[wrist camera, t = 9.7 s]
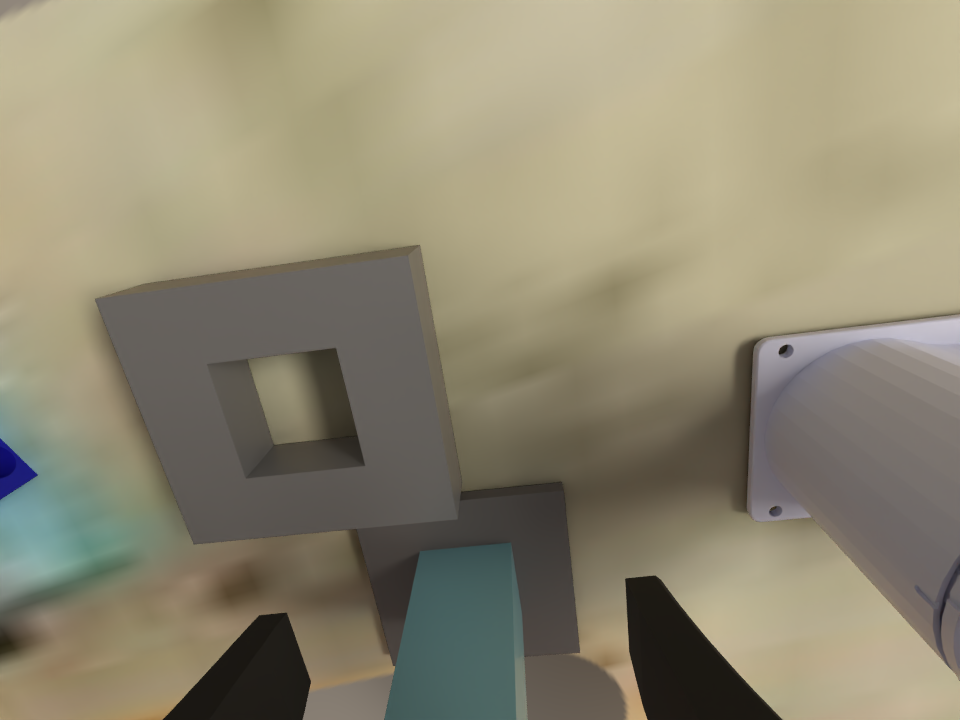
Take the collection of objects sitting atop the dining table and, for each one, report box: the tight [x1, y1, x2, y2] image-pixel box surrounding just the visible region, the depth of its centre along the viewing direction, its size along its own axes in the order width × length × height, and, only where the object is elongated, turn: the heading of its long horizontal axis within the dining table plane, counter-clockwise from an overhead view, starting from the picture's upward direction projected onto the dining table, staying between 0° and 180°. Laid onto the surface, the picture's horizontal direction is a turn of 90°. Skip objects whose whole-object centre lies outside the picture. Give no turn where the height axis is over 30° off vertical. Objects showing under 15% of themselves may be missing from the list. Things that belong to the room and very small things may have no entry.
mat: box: [356, 482, 580, 666], centre depth 23 cm, size 9×9×1 cm
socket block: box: [95, 245, 462, 544], centre depth 19 cm, size 11×10×2 cm
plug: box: [384, 543, 527, 720], centre depth 19 cm, size 4×4×8 cm
